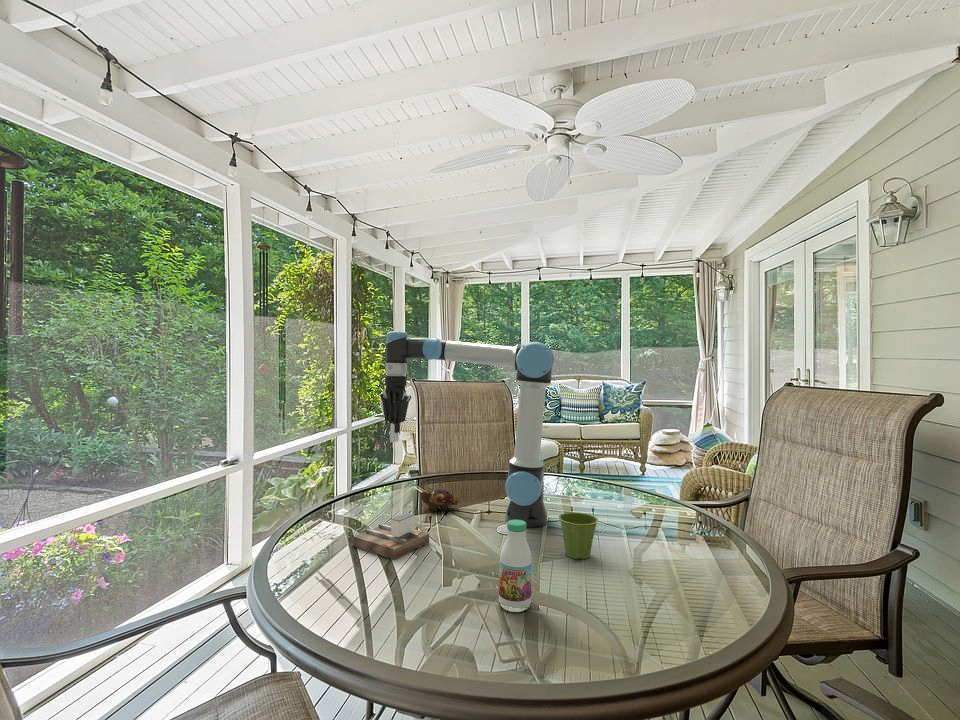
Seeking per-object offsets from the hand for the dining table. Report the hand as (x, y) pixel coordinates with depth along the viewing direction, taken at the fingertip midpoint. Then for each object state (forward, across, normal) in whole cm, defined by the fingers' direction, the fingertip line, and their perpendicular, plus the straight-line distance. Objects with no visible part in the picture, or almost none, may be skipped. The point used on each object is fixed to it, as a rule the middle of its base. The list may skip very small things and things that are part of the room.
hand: (394, 441), depth 174 cm
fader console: (+28, +14, -16) cm, 36 cm away
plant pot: (+29, +65, +11) cm, 72 cm away
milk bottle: (+29, +64, -27) cm, 75 cm away
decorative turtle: (+29, +5, +21) cm, 36 cm away
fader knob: (+25, +19, -16) cm, 35 cm away
